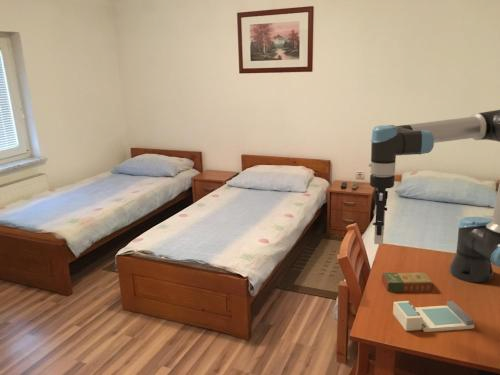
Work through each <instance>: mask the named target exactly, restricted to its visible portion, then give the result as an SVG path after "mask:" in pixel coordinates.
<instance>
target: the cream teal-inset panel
mask: <svg viewBox="0 0 500 375" xmlns="http://www.w3.org/2000/svg"><path fill="white" fill-rule="evenodd" d="M414 308H415V309H416V310H417V311H418V313H419V314H420V315H421V316H422V329H421V331H423V332H424V333H431V332H444V331H456V330H457V331H458V330H468V329H469V330H470V329H472V330H473V329H474V328H475V324H474V319H472V318H471V317H470V316H469V315H468V314H467V313H466V312H465V311H464V310H463V309H462V308H461V307H460V306H459V305H458V304H457V303H456V302H455V301H453V300H448V301H446V305H437V306H436V305H434V306H433V305H432V306H423V307H422V306H419V307H414Z"/></svg>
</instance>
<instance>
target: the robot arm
mask: <svg viewBox="0 0 500 375" xmlns="http://www.w3.org/2000/svg"><path fill="white" fill-rule="evenodd" d="M467 139H473V140H475V141H481V140H483V141H486V140H487V141H495V142H499V143H500V109H496V110H488V111H483V112H476V113H472V115H470V116H467V117H459V118H450V119H443V120H435V121H427V122H418V123H411V124H410V123H409V124H401V125H394V124H387V125H376V126H374V127H373V129H372V132H371V140H370V142H371V146H370V147H371V151H370V152H371V153H370V155H371V156H370V163H369V164H368V167H370V175H369V179H370V180H369V185H370V187H371V188H374V189H377V190H375V192H374V198H375V201H374V203H375V204H374V205H375V206H376V208H375V222H373V223H372V225H373V226H374V237H373V238H374V239H373V241H374V242H373V244H374V245H380V246H381V245H384V234H385V233H384V232H385V219H386V218H385V217H386V211H388V207H386V206H387V200H388V198H389V197H388V196H389V195H388V193H389V191H388V190H387V189H392V188H394V186H395V174H396V164H397V163H396V158H397V156H410V155H423V154H424V155H425V154H429V153H430V152H432V151H433V149H434V146H435V143H436V144H437V143H444V142H451V141H458V140H460V141H461V140H467ZM457 227H458V233H457V243H456V253H455V255H454V257H453V259H452V261H451V262H450V265H449V273H450V274H451V276H453V277H455V278H457V279H459V280H461V281H466V282H470V283H486V282H490V281H491V280H492V279H493V277H494V276H493V275H494V270H493V266H492V265H494V266H496V267H499V268H500V181H499V182H498V188H497V194H496V198H495V203H494V209H493V214H492V218H489V217H483V216H466V217H463V218H461V219H460V220H459V224H458V226H457Z"/></svg>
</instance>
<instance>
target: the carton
mask: <svg viewBox="0 0 500 375" xmlns="http://www.w3.org/2000/svg"><path fill="white" fill-rule="evenodd" d="M381 283H382V284H383V286H384V288H385V289H386V291H387V292H389V293H390V292H394V293H395V292H432V288H433V286H432V285H433V281H432V280H431V279H430V277H429V276H428V274H426V273H425V271H416V272H414V271H412V272H411V271H409V272H408V271H407V272H405V271H404V272H382V274H381Z"/></svg>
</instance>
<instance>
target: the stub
mask: <svg viewBox="0 0 500 375" xmlns="http://www.w3.org/2000/svg"><path fill="white" fill-rule="evenodd" d="M392 308H393V309H392V314H393V316H394V317H395V318H396V320H397V321H398V322H399V324H400V325H401V326H402V327H403V329H404V331H405V332H410V331H422V316H421V315H420V314H419V313H418V311H417V310H416V309H415V308H416V307H414V305H413V304H412V303H411V302H410V301H409V300H402V301H401V300H399V301H393V307H392Z"/></svg>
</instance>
